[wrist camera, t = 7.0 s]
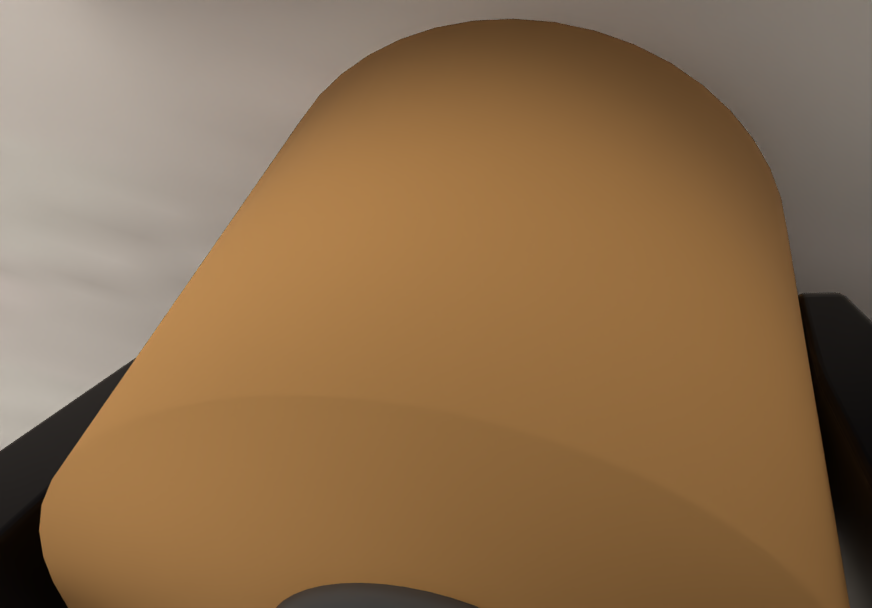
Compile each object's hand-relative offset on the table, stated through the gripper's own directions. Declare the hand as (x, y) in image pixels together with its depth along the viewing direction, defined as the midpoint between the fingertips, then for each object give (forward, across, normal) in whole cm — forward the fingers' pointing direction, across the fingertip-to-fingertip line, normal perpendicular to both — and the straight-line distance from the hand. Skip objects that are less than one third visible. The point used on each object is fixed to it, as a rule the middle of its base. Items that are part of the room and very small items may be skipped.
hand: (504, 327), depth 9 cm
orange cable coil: (+1, 0, 0) cm, 1 cm away
